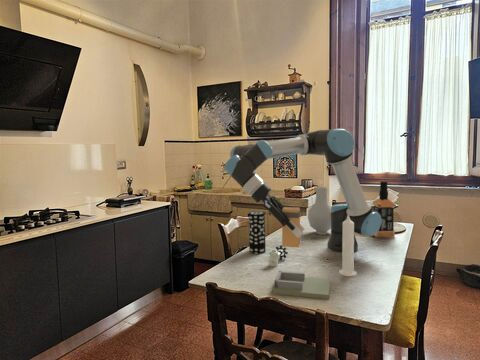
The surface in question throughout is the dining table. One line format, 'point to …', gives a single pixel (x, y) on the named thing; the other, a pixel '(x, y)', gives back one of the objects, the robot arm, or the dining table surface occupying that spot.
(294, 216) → the orange box
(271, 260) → the valve
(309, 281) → the mounting board
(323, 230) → the vase
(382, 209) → the whiskey bottle
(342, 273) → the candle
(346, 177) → the robot arm
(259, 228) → the white-spotted black cylinder
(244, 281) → the dining table surface
